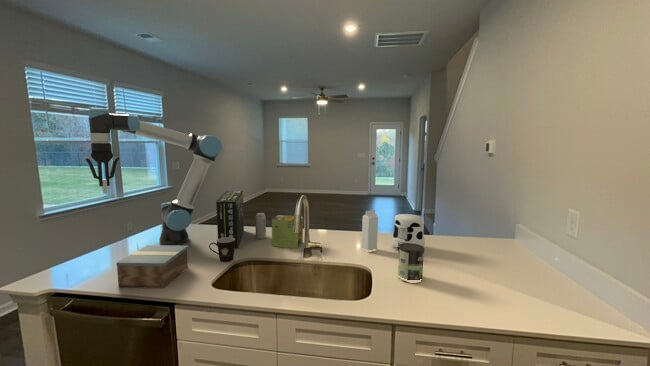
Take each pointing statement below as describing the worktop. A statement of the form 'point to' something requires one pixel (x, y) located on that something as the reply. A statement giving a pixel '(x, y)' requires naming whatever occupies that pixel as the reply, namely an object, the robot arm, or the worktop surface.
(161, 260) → the lid
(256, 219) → the energy drink can
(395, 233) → the milk container
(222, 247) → the coffee mug
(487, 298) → the worktop surface
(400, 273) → the coffee can
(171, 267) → the walnut box
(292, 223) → the protein box
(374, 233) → the milk
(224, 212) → the router box
